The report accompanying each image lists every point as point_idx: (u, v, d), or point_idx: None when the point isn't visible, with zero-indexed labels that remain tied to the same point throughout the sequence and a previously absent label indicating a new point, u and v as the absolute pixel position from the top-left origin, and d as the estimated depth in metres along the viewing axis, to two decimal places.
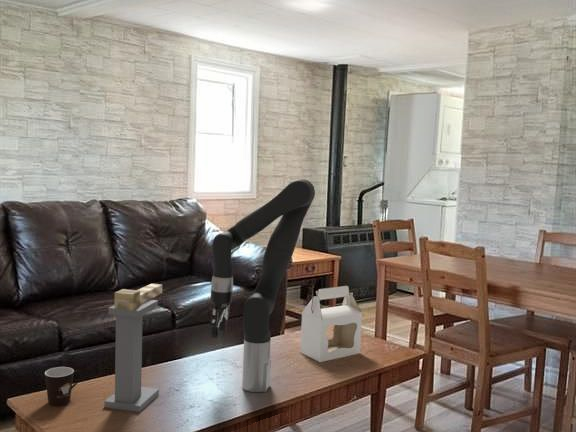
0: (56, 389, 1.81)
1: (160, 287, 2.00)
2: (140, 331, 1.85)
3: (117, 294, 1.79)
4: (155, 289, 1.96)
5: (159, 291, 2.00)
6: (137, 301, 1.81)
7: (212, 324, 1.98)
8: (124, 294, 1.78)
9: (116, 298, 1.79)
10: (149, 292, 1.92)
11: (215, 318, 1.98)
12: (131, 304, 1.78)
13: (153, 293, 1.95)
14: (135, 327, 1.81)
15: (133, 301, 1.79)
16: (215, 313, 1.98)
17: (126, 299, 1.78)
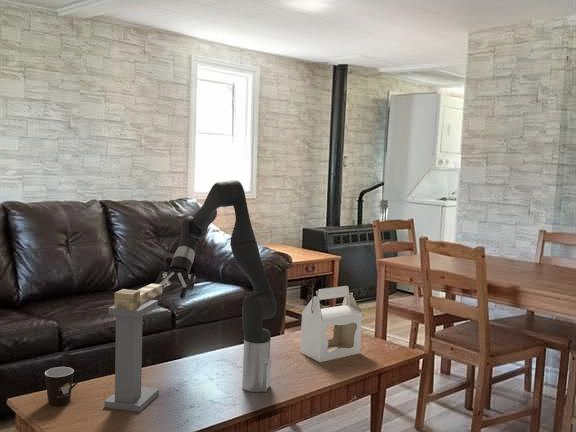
0: (56, 389, 1.81)
1: (160, 287, 2.00)
2: (140, 331, 1.85)
3: (117, 294, 1.79)
4: (155, 289, 1.96)
5: (159, 291, 2.00)
6: (137, 301, 1.81)
7: None
8: (124, 294, 1.78)
9: (116, 298, 1.79)
10: (149, 292, 1.92)
11: None
12: (131, 304, 1.78)
13: (153, 293, 1.95)
14: (135, 327, 1.81)
15: (133, 301, 1.79)
16: None
17: (126, 299, 1.78)
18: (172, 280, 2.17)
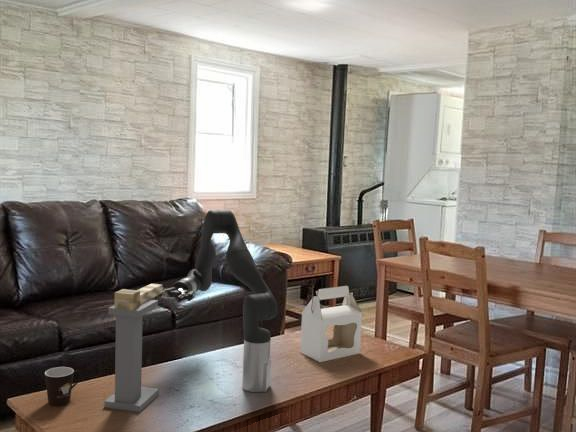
0: (56, 389, 1.81)
1: (160, 287, 2.00)
2: (140, 331, 1.85)
3: (117, 294, 1.79)
4: (155, 289, 1.96)
5: (159, 291, 2.00)
6: (137, 301, 1.81)
7: None
8: (124, 294, 1.78)
9: (116, 298, 1.79)
10: (149, 292, 1.92)
11: None
12: (131, 304, 1.78)
13: (153, 293, 1.95)
14: (135, 327, 1.81)
15: (133, 301, 1.79)
16: None
17: (126, 299, 1.78)
18: (172, 291, 2.18)
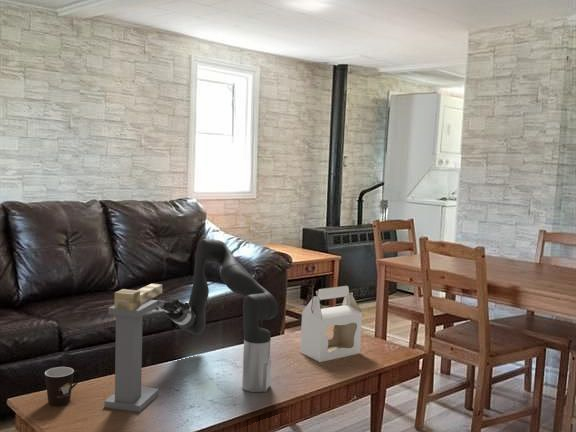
0: (56, 389, 1.81)
1: (160, 287, 2.00)
2: (140, 331, 1.85)
3: (117, 294, 1.79)
4: (155, 289, 1.96)
5: (159, 291, 2.00)
6: (137, 301, 1.81)
7: None
8: (124, 294, 1.78)
9: (116, 298, 1.79)
10: (149, 292, 1.92)
11: None
12: (131, 304, 1.78)
13: (153, 293, 1.95)
14: (135, 327, 1.81)
15: (133, 301, 1.79)
16: None
17: (126, 299, 1.78)
18: (168, 302, 2.15)
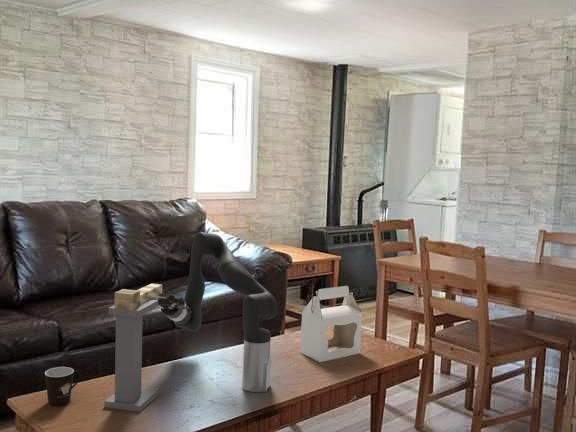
0: (56, 389, 1.81)
1: (160, 287, 2.00)
2: (140, 331, 1.85)
3: (117, 294, 1.79)
4: (155, 289, 1.96)
5: (159, 291, 2.00)
6: (137, 301, 1.81)
7: None
8: (124, 294, 1.78)
9: (116, 298, 1.79)
10: (149, 292, 1.92)
11: None
12: (131, 304, 1.78)
13: (153, 293, 1.95)
14: (135, 327, 1.81)
15: (133, 301, 1.79)
16: None
17: (126, 299, 1.78)
18: None
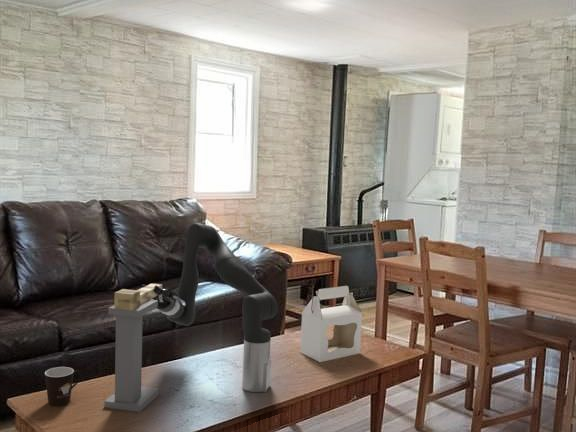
0: (56, 389, 1.81)
1: (160, 287, 2.00)
2: (140, 331, 1.85)
3: (117, 294, 1.79)
4: None
5: None
6: (137, 301, 1.81)
7: None
8: (124, 294, 1.78)
9: (116, 298, 1.79)
10: (149, 292, 1.92)
11: None
12: (131, 304, 1.78)
13: (153, 293, 1.95)
14: (135, 327, 1.81)
15: (133, 301, 1.79)
16: None
17: (126, 299, 1.78)
18: None
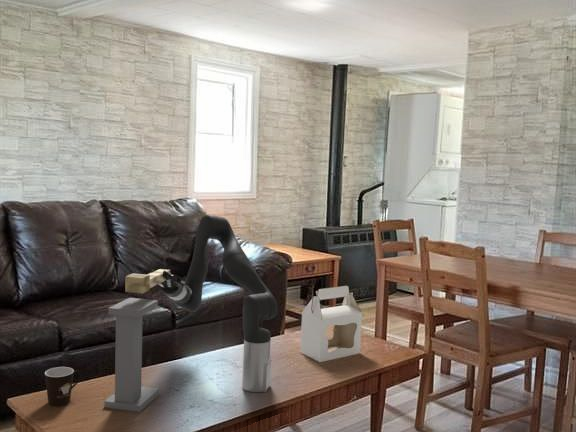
0: (56, 389, 1.81)
1: (168, 272, 2.06)
2: (140, 331, 1.85)
3: (128, 278, 1.85)
4: None
5: None
6: (147, 285, 1.88)
7: None
8: (134, 278, 1.85)
9: (127, 282, 1.85)
10: (158, 277, 1.98)
11: None
12: (142, 287, 1.84)
13: (162, 278, 2.01)
14: (135, 327, 1.81)
15: (143, 284, 1.85)
16: None
17: (136, 283, 1.85)
18: None
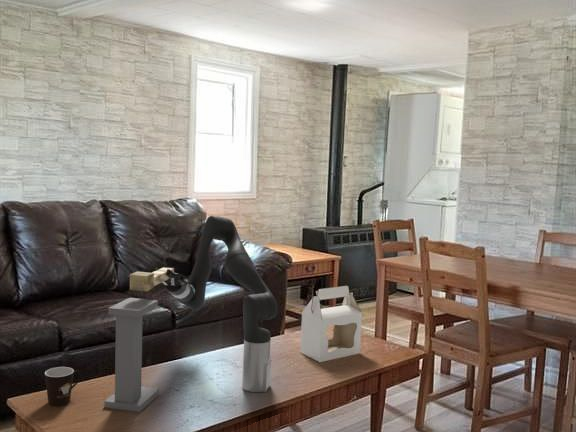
0: (56, 389, 1.81)
1: (172, 271, 2.09)
2: (140, 331, 1.85)
3: (132, 276, 1.88)
4: None
5: None
6: (151, 283, 1.91)
7: None
8: (139, 276, 1.88)
9: (131, 280, 1.88)
10: (162, 275, 2.01)
11: None
12: (146, 285, 1.88)
13: (165, 276, 2.04)
14: (135, 327, 1.81)
15: (147, 282, 1.88)
16: None
17: (141, 281, 1.88)
18: None
